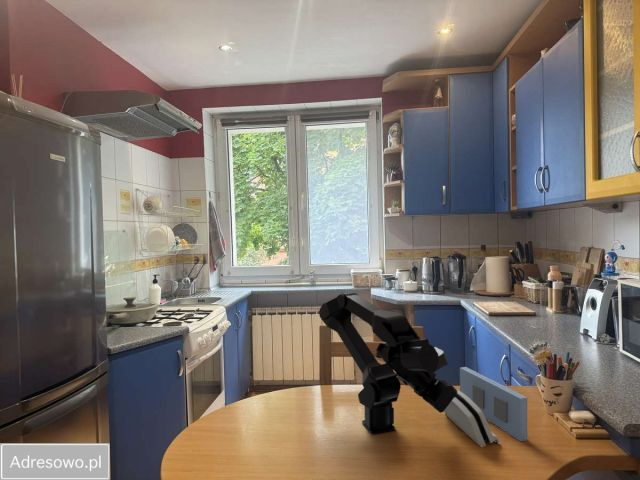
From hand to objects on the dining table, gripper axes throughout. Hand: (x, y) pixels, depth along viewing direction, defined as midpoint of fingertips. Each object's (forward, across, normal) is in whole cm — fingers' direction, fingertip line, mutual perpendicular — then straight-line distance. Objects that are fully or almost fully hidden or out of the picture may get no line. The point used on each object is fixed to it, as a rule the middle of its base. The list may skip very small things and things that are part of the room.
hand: (446, 404), depth 97 cm
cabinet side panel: (+15, +2, -6) cm, 16 cm away
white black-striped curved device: (+8, -1, +1) cm, 9 cm away
